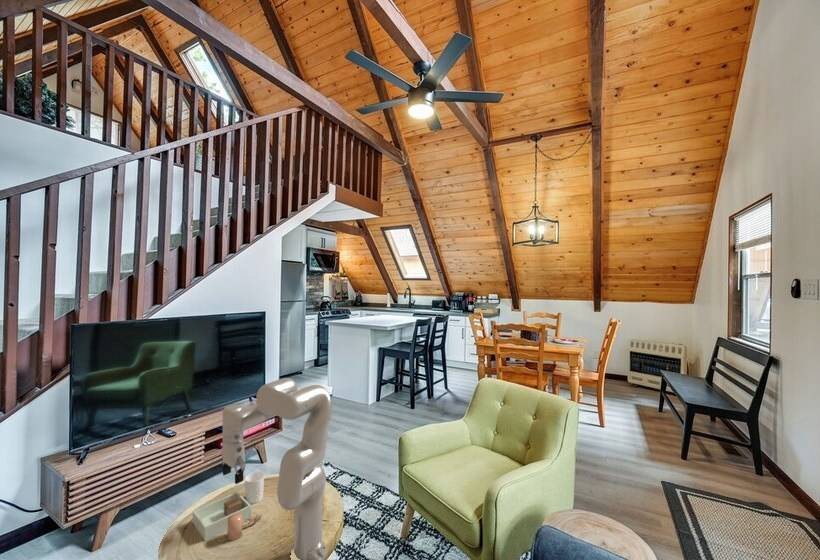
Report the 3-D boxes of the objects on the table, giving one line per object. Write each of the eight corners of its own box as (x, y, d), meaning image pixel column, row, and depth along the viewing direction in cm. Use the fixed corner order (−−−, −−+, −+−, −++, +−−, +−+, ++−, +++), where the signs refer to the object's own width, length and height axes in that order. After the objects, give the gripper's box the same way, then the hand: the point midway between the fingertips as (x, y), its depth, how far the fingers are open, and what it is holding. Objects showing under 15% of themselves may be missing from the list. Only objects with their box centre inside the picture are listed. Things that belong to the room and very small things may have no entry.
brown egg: (244, 535, 138) (244, 517, 138) (231, 542, 134) (231, 524, 134) (238, 529, 141) (238, 511, 141) (225, 536, 137) (225, 518, 137)
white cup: (255, 506, 154) (255, 483, 154) (240, 502, 157) (240, 479, 156) (268, 495, 162) (268, 473, 161) (253, 491, 164) (254, 470, 164)
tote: (250, 517, 147) (251, 505, 147) (204, 540, 135) (205, 527, 134) (237, 503, 156) (237, 491, 156) (192, 523, 143) (192, 511, 143)
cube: (241, 514, 148) (241, 502, 148) (228, 520, 145) (228, 508, 145) (236, 508, 152) (236, 496, 152) (223, 514, 148) (223, 502, 148)
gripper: (253, 439, 145) (253, 481, 145) (231, 427, 155) (231, 466, 155) (234, 446, 139) (234, 490, 139) (213, 433, 149) (213, 474, 149)
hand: (232, 477), depth 147 cm, fingers open, 9 cm apart
